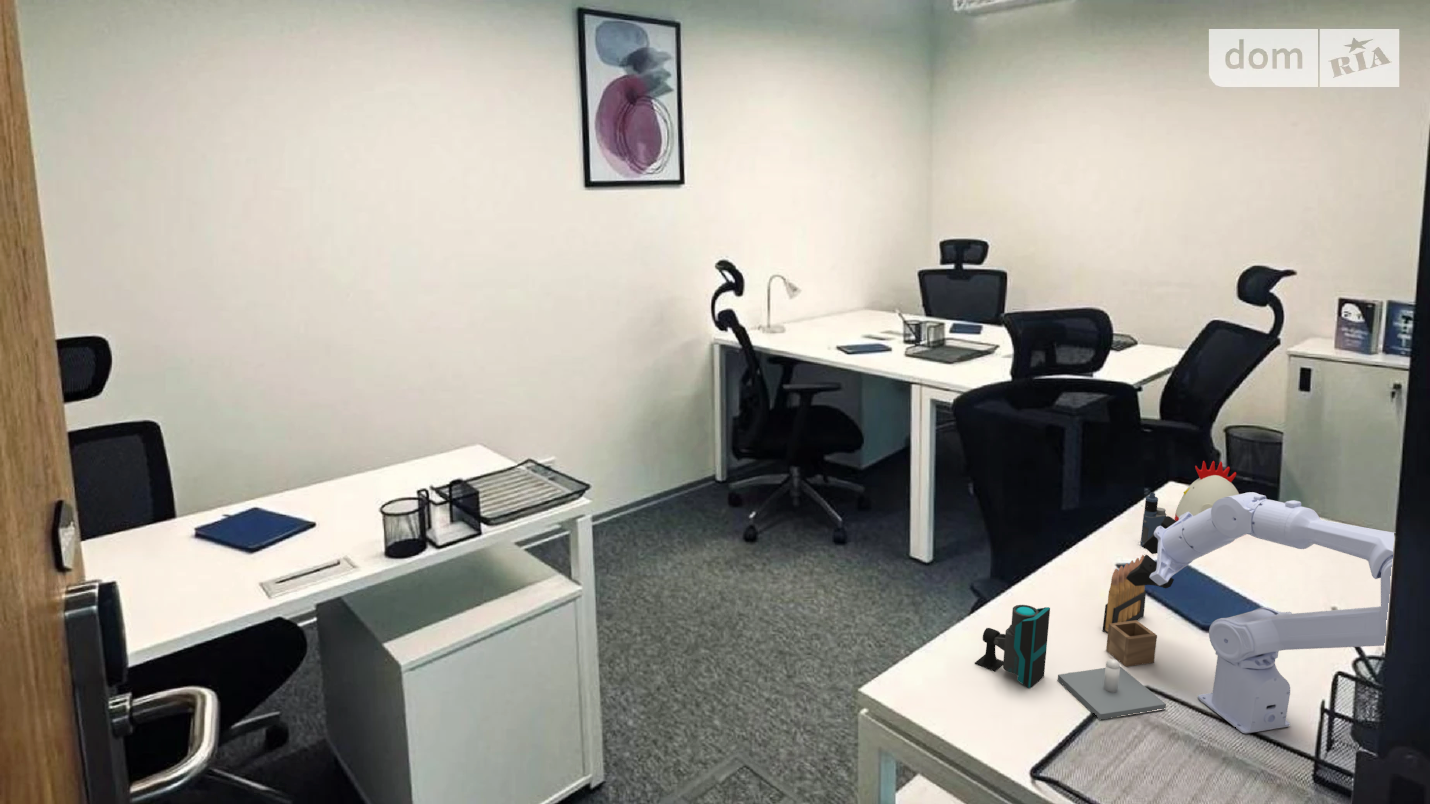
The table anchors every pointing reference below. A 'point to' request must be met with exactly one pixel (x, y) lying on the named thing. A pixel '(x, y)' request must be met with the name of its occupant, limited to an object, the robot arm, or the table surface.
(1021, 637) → the surveillance camera
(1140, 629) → the walnut frame
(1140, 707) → the gray peg stand
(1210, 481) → the kitchen timer
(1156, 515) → the vaping device
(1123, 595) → the ammunition clip
